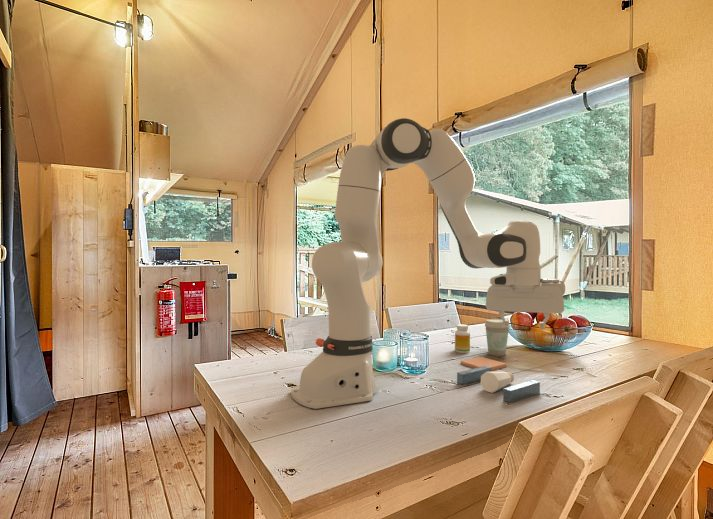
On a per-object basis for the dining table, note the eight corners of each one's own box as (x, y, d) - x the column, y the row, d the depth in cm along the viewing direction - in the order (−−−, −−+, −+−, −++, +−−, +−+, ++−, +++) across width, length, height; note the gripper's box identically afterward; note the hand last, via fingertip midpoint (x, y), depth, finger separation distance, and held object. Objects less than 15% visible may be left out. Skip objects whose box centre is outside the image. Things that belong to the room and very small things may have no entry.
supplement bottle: (471, 353, 139) (471, 326, 139) (456, 353, 140) (456, 326, 139) (467, 349, 145) (467, 323, 145) (453, 349, 145) (453, 323, 145)
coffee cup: (484, 355, 136) (484, 321, 136) (484, 350, 144) (484, 318, 144) (510, 357, 134) (511, 323, 133) (508, 351, 142) (508, 319, 142)
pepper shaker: (495, 369, 100) (515, 365, 107) (477, 373, 103) (498, 369, 110) (501, 391, 98) (521, 385, 105) (483, 394, 101) (503, 388, 109)
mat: (485, 372, 118) (485, 368, 118) (460, 364, 126) (460, 361, 126) (506, 366, 123) (506, 363, 123) (481, 359, 131) (481, 356, 131)
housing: (510, 403, 93) (510, 390, 93) (457, 383, 107) (457, 372, 107) (539, 393, 99) (539, 381, 99) (485, 375, 114) (485, 365, 114)
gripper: (564, 278, 107) (564, 328, 107) (487, 277, 116) (487, 323, 116) (566, 279, 102) (566, 332, 102) (484, 279, 110) (485, 327, 110)
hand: (523, 327), depth 109 cm, fingers open, 8 cm apart
